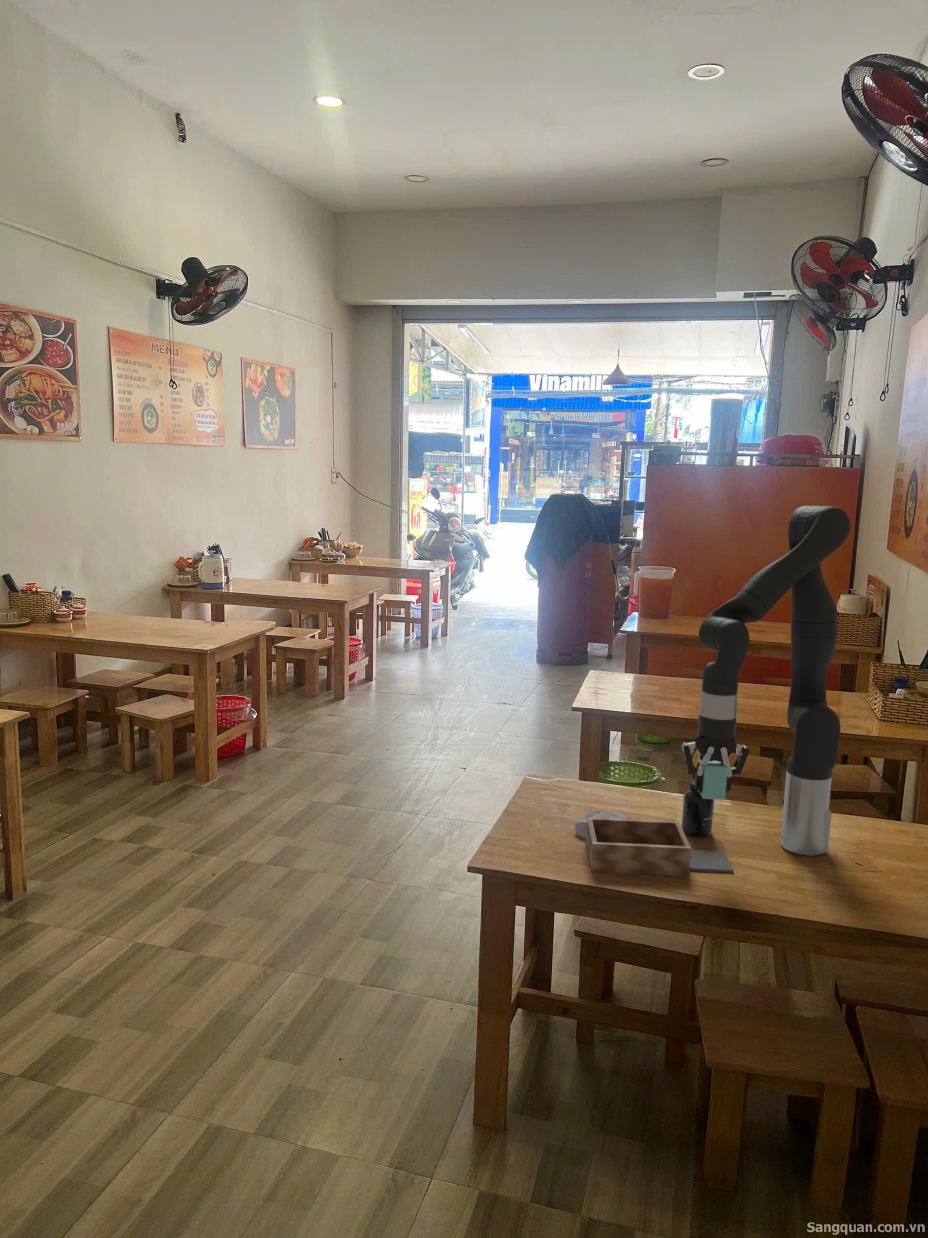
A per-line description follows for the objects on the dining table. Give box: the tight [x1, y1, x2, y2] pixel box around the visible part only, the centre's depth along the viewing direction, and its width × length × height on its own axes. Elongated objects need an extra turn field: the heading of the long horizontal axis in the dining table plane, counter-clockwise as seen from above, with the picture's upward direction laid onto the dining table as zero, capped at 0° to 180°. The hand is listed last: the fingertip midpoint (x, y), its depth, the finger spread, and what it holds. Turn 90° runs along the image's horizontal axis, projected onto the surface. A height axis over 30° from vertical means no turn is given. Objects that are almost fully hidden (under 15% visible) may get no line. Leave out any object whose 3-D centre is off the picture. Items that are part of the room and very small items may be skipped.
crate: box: [585, 817, 692, 877], centre depth 186 cm, size 20×14×6 cm
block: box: [700, 761, 728, 801], centre depth 183 cm, size 4×4×7 cm
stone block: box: [574, 810, 631, 839], centre depth 200 cm, size 12×5×10 cm
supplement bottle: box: [681, 778, 715, 838], centre depth 200 cm, size 7×7×12 cm
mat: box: [690, 849, 735, 874], centre depth 186 cm, size 9×9×1 cm
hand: (711, 791), depth 183 cm, fingers closed on block, 4 cm apart
